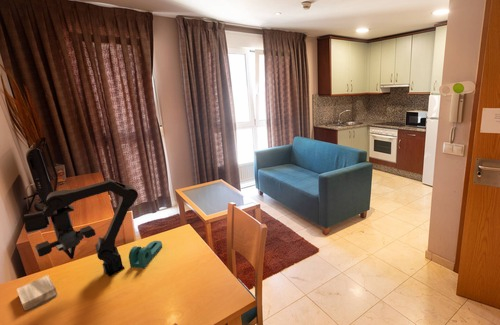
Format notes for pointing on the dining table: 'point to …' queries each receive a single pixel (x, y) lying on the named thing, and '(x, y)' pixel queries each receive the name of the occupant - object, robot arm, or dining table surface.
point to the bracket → (144, 254)
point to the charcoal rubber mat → (42, 302)
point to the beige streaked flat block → (36, 292)
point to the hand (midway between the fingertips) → (71, 258)
